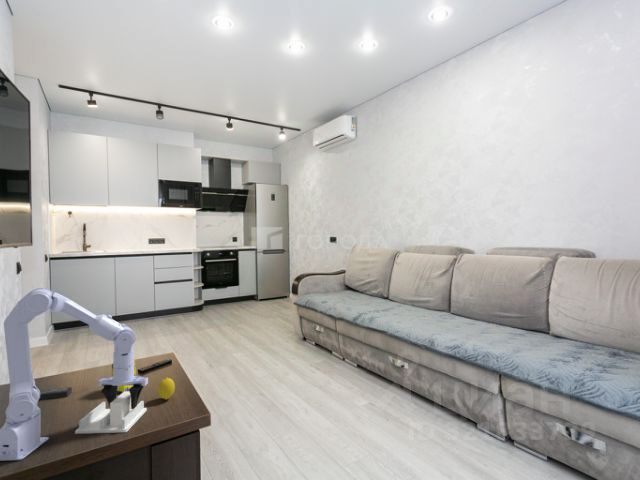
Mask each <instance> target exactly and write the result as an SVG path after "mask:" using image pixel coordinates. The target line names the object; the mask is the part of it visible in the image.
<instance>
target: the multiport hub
mask: <svg viewBox="0 0 640 480" xmlns="http://www.w3.org/2000/svg"><path fill="white" fill-rule="evenodd" d="M39 391H40V398H39V400H38V401H43V400H52V399H53V400H54V399H55V400H56V399H62V398H63V399H64V398H67V397H69V395H71V394H72V393H73V392H72V391H73V387H71V386H69V387H61V388H60V387H59V388H52V389H42V390H40V389H39Z"/></svg>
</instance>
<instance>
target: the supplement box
mask: <svg viewBox="0 0 640 480" xmlns="http://www.w3.org/2000/svg"><path fill="white" fill-rule="evenodd" d="M136 362H137V360H136V359H134V376H137V374H136V372H137V371H136V365H137V364H136ZM112 377H113V363H111V378H112ZM131 387H133V385H122V386H118V387H117V393H116V394H122V393H123V392H124V391H129V389H130V388H131Z"/></svg>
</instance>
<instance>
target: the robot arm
mask: <svg viewBox="0 0 640 480" xmlns="http://www.w3.org/2000/svg"><path fill="white" fill-rule="evenodd" d="M49 309H50V312H49V313H51V314H52V313H53V314H54V313H55V314H56V313H64V314H66V315H68V316H71V317H72V318H75V319H76V320H79V321H81V322H82V323H85V324H87V325H88V327H89V331H90V332H92V333H94V334H95V335H97V336H100V337H101V338H103V339H105V340H107V341H108V342H109V341H112V342H113V345H114V349H113V355H112V356H113V357H112V359H113V363H112V364H113V377H112V376H111V377H105V378H100V379H99V380H98V387H99V388H101V387H103V388H102V389H101V393H102V395H103V396H104V397H105V399H106V402H107V404H108V406H109V407H108V409H110V403H111V402H112V401H113V400H115V399H116V398H117V394H118V393H117V387H118V386H122V385H133V387H131V388H130V389H129V391H130V395H131V409H134V408H135V407H136V406H137V405H138V402H139V398H140V395H141V393H142V390H143V389H144V387H145V386H147V385H148V384H149V377H143V376H137V375H136V376H134V360H135V349H134V346H135V345H134V343H135V342H136V339H137V338H136V335H135V333H134V331H133V330H132V329H131V328H130V327H129V326H128V325H126V324H125V323H123V322H122V323H120V322H118V321H116V320H114V319H113V316H112V315H111V314H107V315H106V314H103V313H102V314H95V313H93V312H92V311H89V310H88V309H86V308H85V307H83V306H82V305H80V304H78V303H76V302H75V301H73V300H71V299H70V298H68V297H67V296H64V295H62V294H60V293H58V292H56V291H54V292H53V291H52V290H51V289H49V288H47V287H38V288H35V289H32V290H30V291H29V292H28V293H27V294H25V295H24V296H23V297H22V298H21V299H19V301H17V302H16V304H15V306H14V307H13V308H12V310H11V311H10V312H9V314H8V315H7V316H6V318H5V319H4V321H3V329H4V337H5V338H4V339H5V349H6V358H7V359H6V360H7V368H8V369H7V370H8V376H9V377H8V378H9V394H8V400H9V402H8V406H7V407H6V410H5V417H6V418H5V422H4V424H3V426H2V427H1V428H0V462H1V461H3V462H4V461H22V460H23V459H25V458H26V457H27V456H28V455H30V454H32V453H33V452H34V451H35V450H37V449H38V448H39V447H40V446H42V445H43V444H44V443H46V442H47V441H48V440H49V439H50V438H49V437H47V436H46V437H45V436H44V437H43V436H42V435H41V433H42V432H41V431H42V430H41V429H42V426H41V425H42V423H41V417H42V416H41V415H42V412H41V408H40V407H39V406H38V403H39V401H40V400H39V398H40V391H39V390H40V389H39V388H38V387H37V386H36V381H35V378H34V375H33V374H34V373H33V365H32V364H33V363H32V355H31V354H32V353H31V345H30V344H31V343H30V337H29V336H30V333H29V325H28V324H30V323H31V321H33V320H34V319H35V318H36V317H37V316H40V315H42V314H43V313H46V312H47V311H49ZM41 436H42V437H41Z"/></svg>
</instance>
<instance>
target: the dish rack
mask: <svg viewBox="0 0 640 480" xmlns="http://www.w3.org/2000/svg"><path fill="white" fill-rule="evenodd" d="M144 402H145V401H144V400H140V402H139V403H137V406H136V407H135V408H134V409H133V410H132V411H131V412H129V413H128V414H127V415H126V416H125V417H124V418H123V419H122V426H110V408H106V403H107V401H102V402H101V403H99V404H98V406H96V407H95V408H93V409H92V410H91V411H90V412H89V413H87V414H85V416H84V417H82V418H81V419H79V421H78V428H76V430H74V434H75V435H77V434H109V433H110V434H111V433H114V434H115V433H117V434H118V433H127V432H128V431H129V430H130V429H131V428H132V427H133V426H134V425H135V424H136V423H137V422H138V420H139V419H140V418H141V417H142V416H143V415H144V414H145V413H146V412H147V411H148V409H147V407H145V403H144Z"/></svg>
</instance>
